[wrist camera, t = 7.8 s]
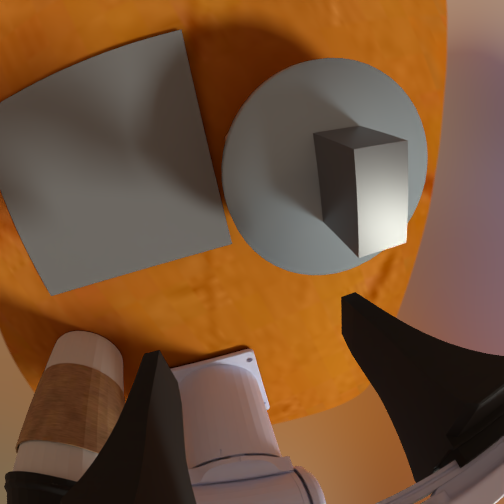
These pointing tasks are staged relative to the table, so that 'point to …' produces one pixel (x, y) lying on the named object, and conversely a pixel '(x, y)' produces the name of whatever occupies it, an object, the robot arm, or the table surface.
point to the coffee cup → (67, 418)
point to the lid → (324, 166)
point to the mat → (110, 166)
